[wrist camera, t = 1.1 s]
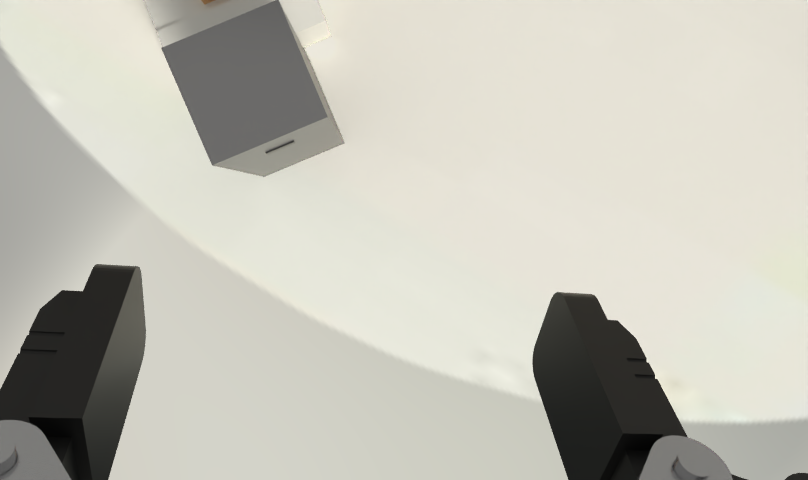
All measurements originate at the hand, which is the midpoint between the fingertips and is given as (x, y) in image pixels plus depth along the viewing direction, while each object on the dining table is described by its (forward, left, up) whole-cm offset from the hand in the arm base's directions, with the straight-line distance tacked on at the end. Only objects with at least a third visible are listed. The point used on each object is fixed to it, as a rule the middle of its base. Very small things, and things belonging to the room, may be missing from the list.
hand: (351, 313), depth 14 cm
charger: (0, -8, -23) cm, 24 cm away
